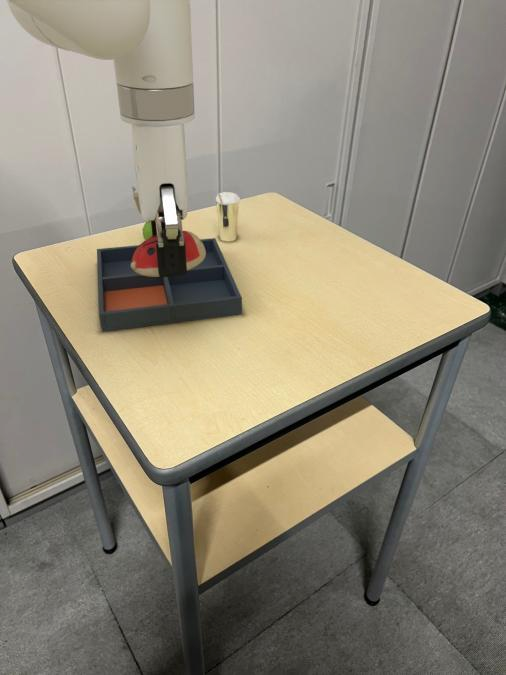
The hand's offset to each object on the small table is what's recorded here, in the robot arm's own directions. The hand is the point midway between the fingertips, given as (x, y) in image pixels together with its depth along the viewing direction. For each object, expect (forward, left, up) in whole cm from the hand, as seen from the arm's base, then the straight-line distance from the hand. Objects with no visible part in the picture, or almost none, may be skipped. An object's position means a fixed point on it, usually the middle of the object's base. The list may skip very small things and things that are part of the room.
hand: (169, 258), depth 63 cm
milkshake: (+15, +35, -16) cm, 41 cm away
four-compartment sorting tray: (+1, +19, -16) cm, 25 cm away
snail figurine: (+1, +35, -16) cm, 39 cm away
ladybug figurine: (0, 0, -1) cm, 1 cm away
